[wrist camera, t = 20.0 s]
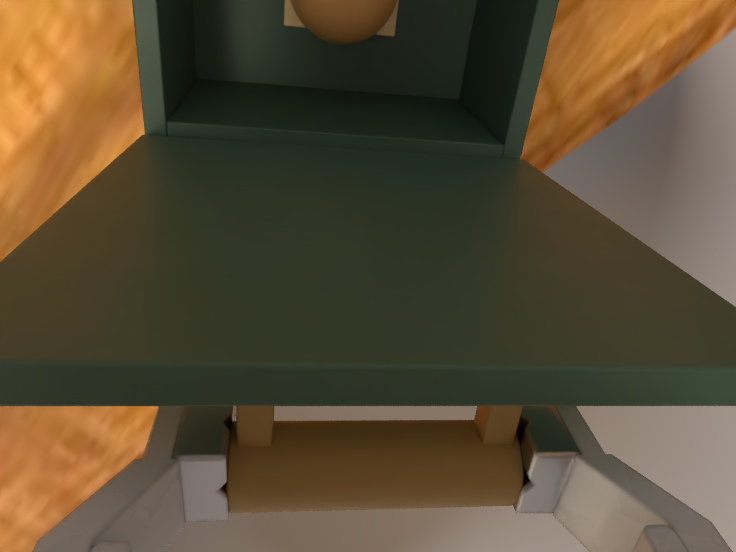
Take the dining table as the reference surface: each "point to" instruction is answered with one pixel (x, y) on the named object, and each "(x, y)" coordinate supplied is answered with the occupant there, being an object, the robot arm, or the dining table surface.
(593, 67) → the dining table surface
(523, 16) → the bread bin
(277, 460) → the lid
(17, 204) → the dining table surface
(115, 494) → the robot arm
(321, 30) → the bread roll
